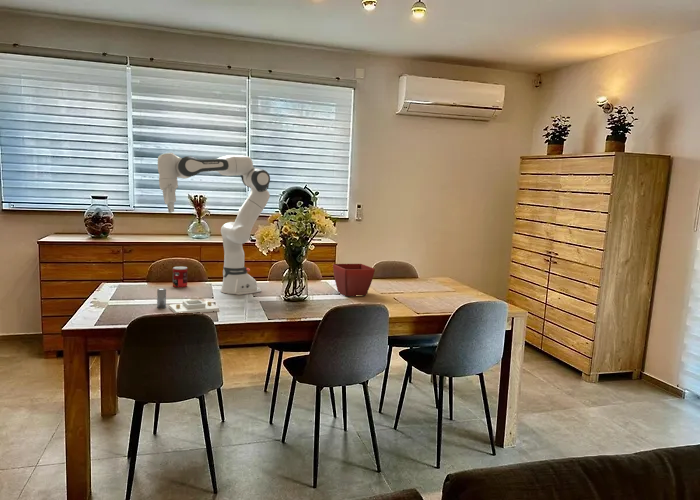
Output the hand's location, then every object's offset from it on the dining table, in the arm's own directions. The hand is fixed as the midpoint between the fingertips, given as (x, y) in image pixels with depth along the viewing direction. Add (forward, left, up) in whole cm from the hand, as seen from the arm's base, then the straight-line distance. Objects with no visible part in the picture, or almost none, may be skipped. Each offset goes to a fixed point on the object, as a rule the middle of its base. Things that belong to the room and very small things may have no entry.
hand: (171, 212), depth 251 cm
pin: (+9, +18, -45) cm, 49 cm away
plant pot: (-97, +26, -45) cm, 110 cm away
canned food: (-11, -25, -45) cm, 53 cm away
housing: (-4, +27, -45) cm, 53 cm away
